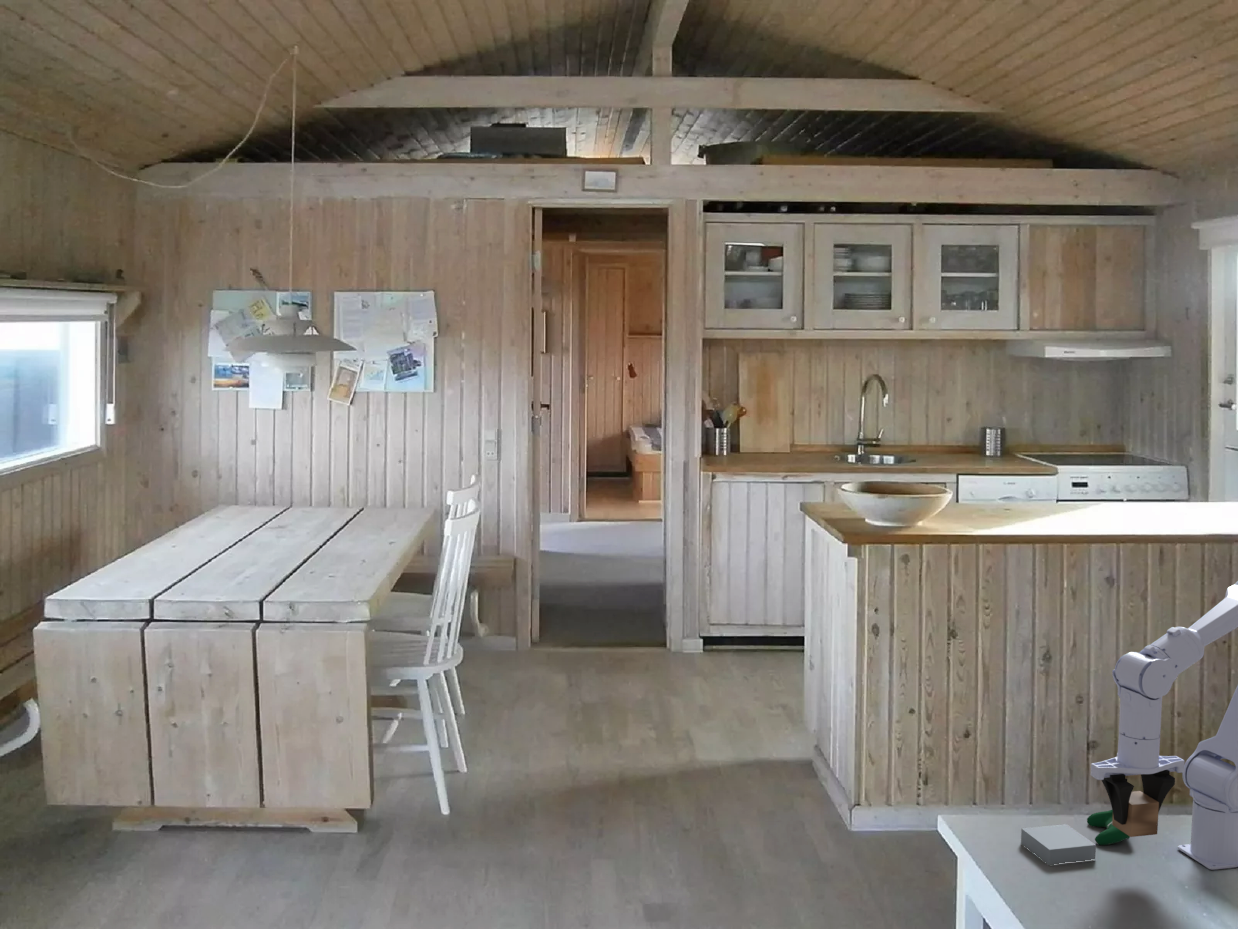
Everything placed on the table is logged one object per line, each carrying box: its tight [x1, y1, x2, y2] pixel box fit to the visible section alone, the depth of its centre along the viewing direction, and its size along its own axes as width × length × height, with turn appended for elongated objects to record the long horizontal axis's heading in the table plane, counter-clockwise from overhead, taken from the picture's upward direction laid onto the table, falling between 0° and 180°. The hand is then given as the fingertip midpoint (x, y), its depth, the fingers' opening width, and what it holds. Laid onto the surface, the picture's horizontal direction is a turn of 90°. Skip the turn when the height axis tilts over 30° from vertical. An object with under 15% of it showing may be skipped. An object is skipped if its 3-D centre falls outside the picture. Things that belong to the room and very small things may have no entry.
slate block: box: [1020, 823, 1097, 866], centre depth 190 cm, size 8×8×3 cm
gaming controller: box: [1086, 809, 1131, 846], centre depth 196 cm, size 9×4×6 cm
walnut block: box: [1112, 790, 1160, 838], centre depth 181 cm, size 4×4×5 cm
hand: (1135, 820), depth 182 cm, fingers closed on walnut block, 4 cm apart
